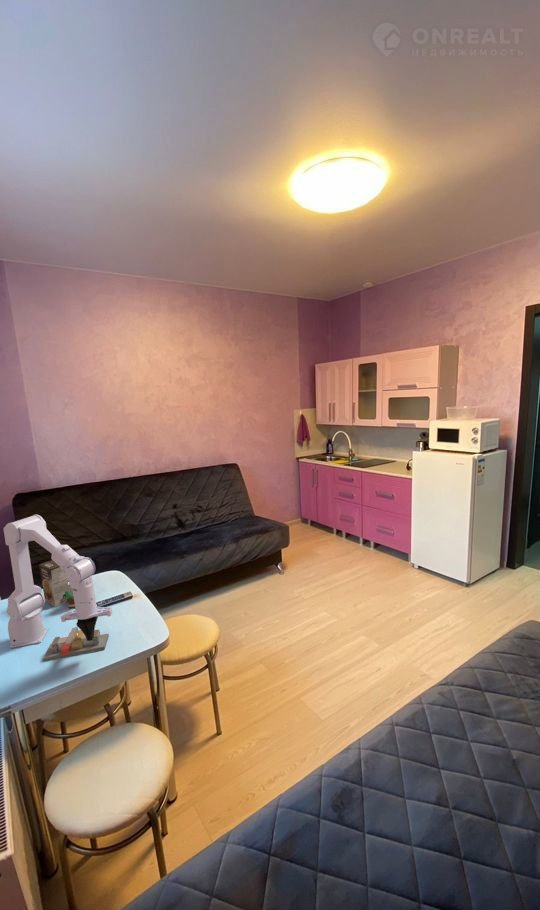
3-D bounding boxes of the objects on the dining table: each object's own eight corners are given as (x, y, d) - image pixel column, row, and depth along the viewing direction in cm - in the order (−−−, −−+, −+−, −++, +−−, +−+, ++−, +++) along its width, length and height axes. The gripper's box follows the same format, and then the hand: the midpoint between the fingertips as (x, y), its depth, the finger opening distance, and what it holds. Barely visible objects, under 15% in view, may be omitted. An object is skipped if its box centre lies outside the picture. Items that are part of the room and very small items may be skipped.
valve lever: (72, 633, 124) (71, 627, 124) (79, 632, 125) (78, 626, 124) (62, 656, 113) (61, 650, 113) (69, 655, 114) (68, 648, 113)
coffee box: (44, 601, 156) (38, 564, 153) (60, 594, 161) (54, 558, 159) (55, 607, 151) (49, 569, 148) (71, 600, 156) (65, 562, 153)
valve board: (43, 661, 119) (42, 658, 119) (50, 646, 126) (50, 644, 126) (104, 649, 123) (104, 646, 123) (108, 636, 130) (108, 633, 130)
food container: (80, 611, 147) (76, 587, 145) (66, 610, 148) (62, 586, 147) (100, 594, 159) (97, 572, 157) (87, 594, 160) (84, 571, 158)
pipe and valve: (51, 654, 121) (49, 643, 120) (55, 646, 125) (54, 634, 125) (98, 645, 124) (97, 634, 123) (101, 637, 128) (99, 626, 128)
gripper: (112, 589, 122) (118, 628, 124) (65, 594, 120) (71, 633, 122) (106, 600, 115) (111, 641, 117) (55, 606, 113) (62, 648, 115)
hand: (90, 638), depth 119 cm, fingers closed
